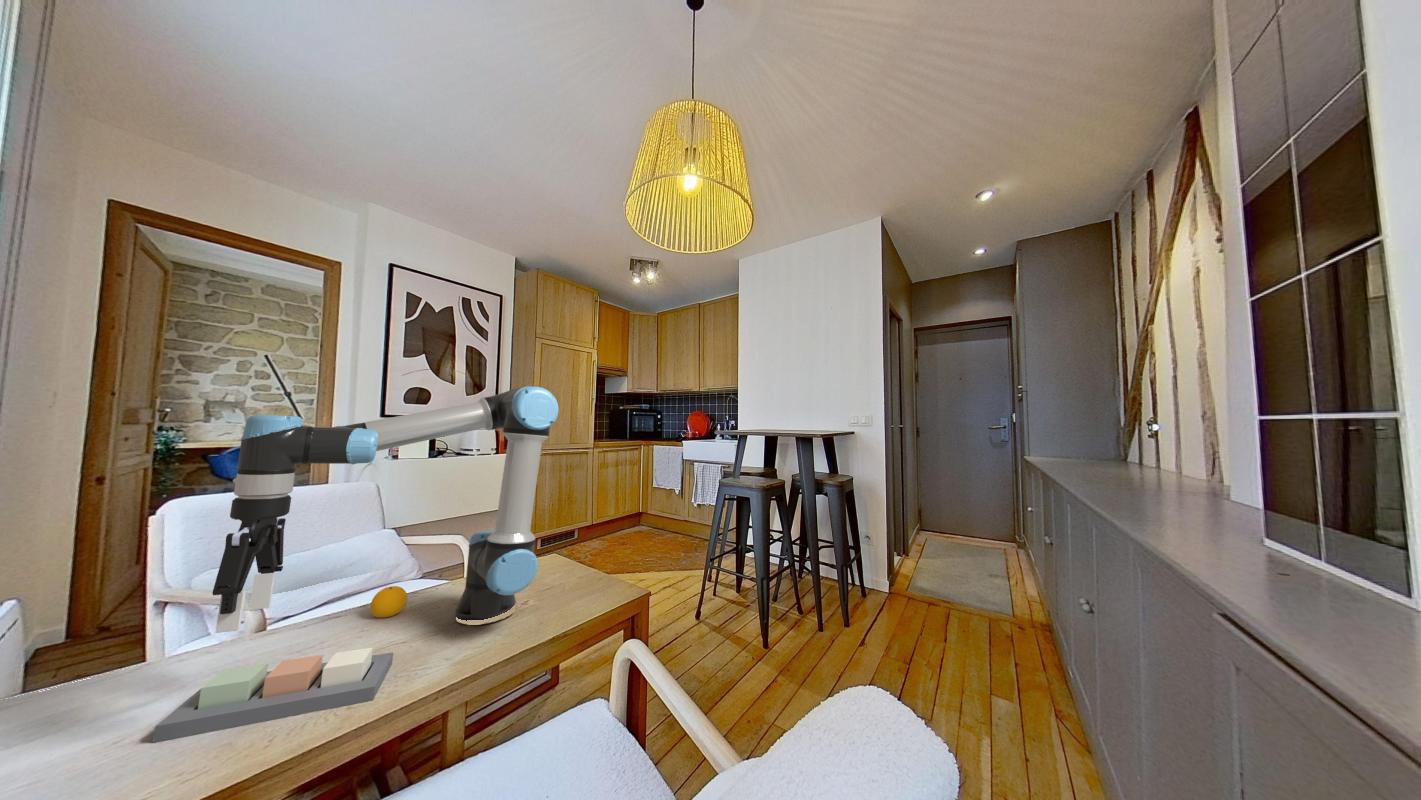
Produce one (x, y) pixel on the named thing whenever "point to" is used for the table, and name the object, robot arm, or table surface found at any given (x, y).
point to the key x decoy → (292, 676)
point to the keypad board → (272, 704)
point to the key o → (233, 685)
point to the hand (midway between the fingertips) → (244, 618)
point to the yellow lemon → (388, 601)
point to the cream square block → (346, 667)
